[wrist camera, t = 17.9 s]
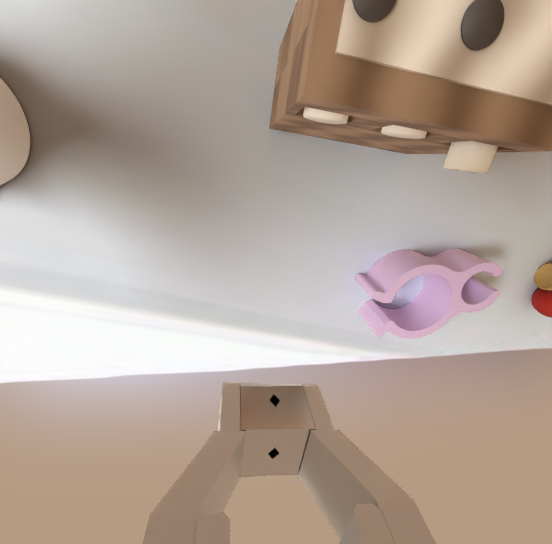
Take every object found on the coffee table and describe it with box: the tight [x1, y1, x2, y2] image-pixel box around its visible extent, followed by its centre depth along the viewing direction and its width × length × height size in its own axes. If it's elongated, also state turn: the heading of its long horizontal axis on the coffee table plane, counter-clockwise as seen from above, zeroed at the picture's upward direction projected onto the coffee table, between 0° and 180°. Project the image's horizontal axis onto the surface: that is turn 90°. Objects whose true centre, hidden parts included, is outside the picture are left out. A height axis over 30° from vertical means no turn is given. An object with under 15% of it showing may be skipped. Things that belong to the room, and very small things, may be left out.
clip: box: [355, 248, 503, 338], centre depth 44 cm, size 20×12×7 cm, turn 103°
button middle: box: [381, 125, 427, 139], centre depth 23 cm, size 4×4×4 cm
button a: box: [303, 107, 348, 124], centre depth 21 cm, size 4×4×4 cm
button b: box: [443, 141, 498, 173], centre depth 25 cm, size 4×4×4 cm
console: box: [270, 0, 552, 154], centre depth 26 cm, size 20×8×20 cm, turn 81°
